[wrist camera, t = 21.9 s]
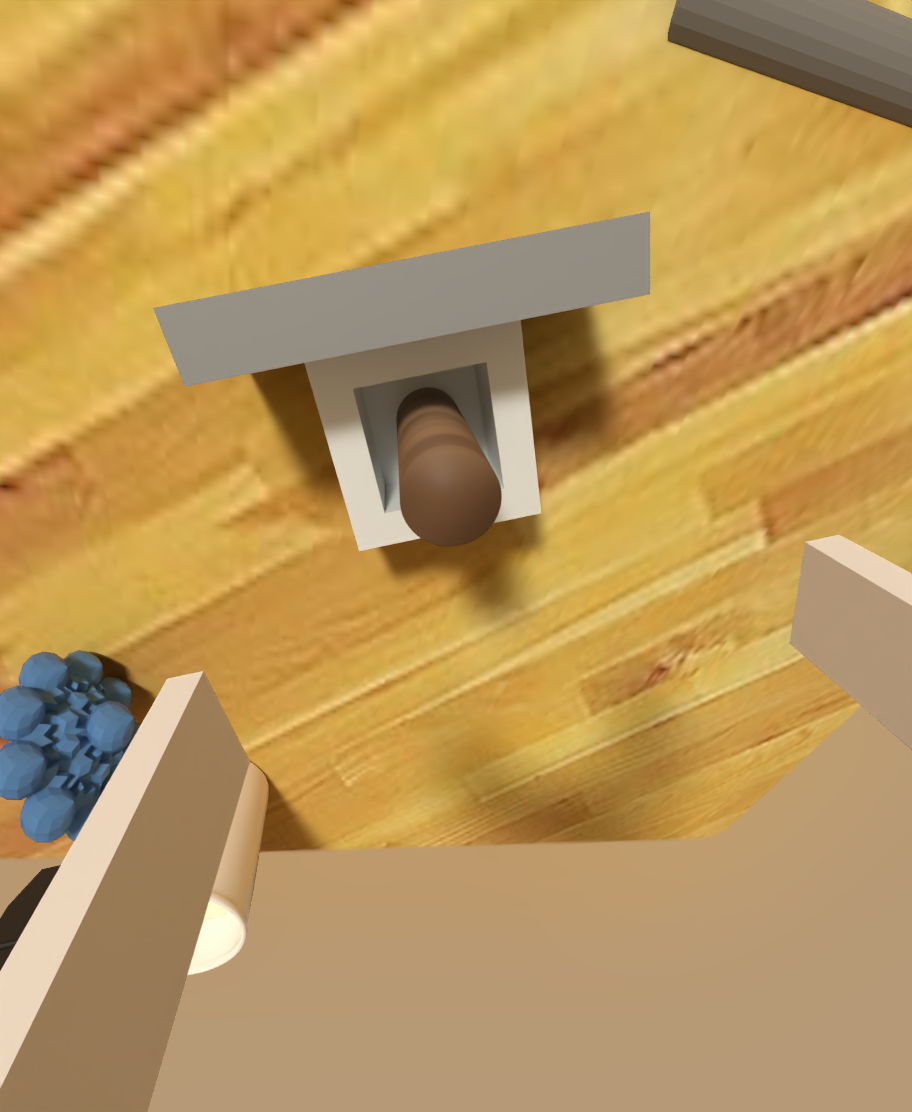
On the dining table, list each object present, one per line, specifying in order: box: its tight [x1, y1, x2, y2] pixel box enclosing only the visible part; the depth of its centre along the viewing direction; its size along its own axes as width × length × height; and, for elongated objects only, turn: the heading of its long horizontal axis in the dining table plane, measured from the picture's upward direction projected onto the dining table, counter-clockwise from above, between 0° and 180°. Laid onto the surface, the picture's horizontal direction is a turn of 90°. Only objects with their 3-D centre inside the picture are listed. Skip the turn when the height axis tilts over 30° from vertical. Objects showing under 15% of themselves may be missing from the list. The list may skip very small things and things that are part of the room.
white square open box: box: [304, 320, 541, 551], centre depth 31 cm, size 11×11×6 cm
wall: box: [153, 212, 650, 386], centre depth 26 cm, size 3×20×10 cm, turn 100°
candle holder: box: [188, 762, 269, 975], centre depth 40 cm, size 10×10×12 cm
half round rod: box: [668, 0, 912, 127], centre depth 27 cm, size 4×20×2 cm, turn 79°
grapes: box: [0, 650, 141, 842], centre depth 34 cm, size 12×7×12 cm, turn 22°
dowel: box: [396, 388, 502, 546], centre depth 27 cm, size 4×4×14 cm
